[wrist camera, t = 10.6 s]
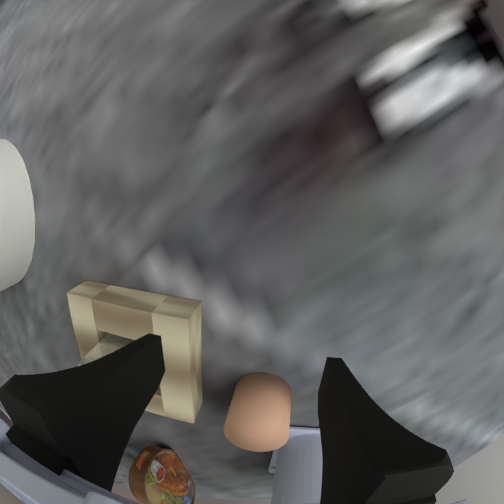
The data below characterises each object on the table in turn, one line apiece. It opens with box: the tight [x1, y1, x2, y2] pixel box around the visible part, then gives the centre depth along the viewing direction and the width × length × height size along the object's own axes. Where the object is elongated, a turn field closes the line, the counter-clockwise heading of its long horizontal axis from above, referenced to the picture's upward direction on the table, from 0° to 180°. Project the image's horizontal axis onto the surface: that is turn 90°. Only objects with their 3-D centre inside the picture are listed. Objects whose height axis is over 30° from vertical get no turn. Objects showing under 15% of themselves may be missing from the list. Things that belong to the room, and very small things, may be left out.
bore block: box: [67, 280, 203, 424], centre depth 22 cm, size 11×11×3 cm
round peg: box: [223, 372, 291, 452], centre depth 21 cm, size 5×5×5 cm
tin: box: [129, 446, 195, 504], centre depth 26 cm, size 15×3×8 cm, turn 8°
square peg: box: [78, 333, 135, 366], centre depth 21 cm, size 4×4×7 cm
